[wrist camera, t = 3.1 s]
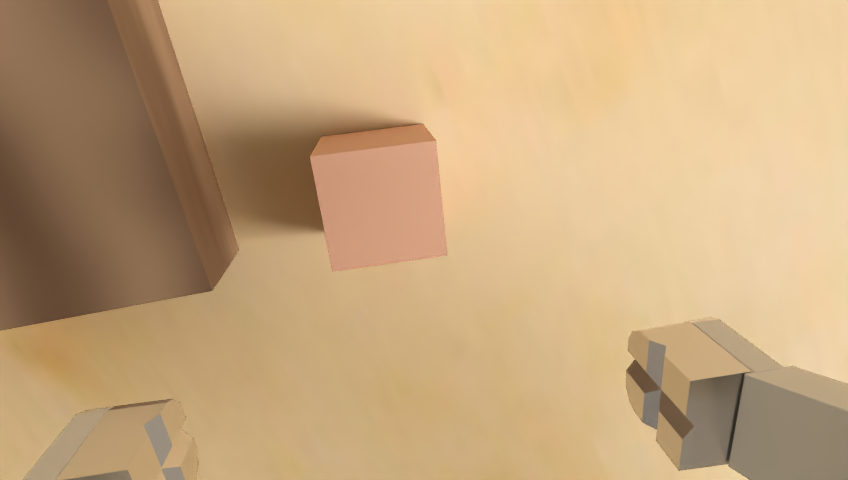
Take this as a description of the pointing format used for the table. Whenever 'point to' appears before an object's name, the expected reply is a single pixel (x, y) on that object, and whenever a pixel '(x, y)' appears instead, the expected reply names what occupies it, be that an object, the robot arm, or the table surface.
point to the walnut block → (100, 164)
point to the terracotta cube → (379, 196)
